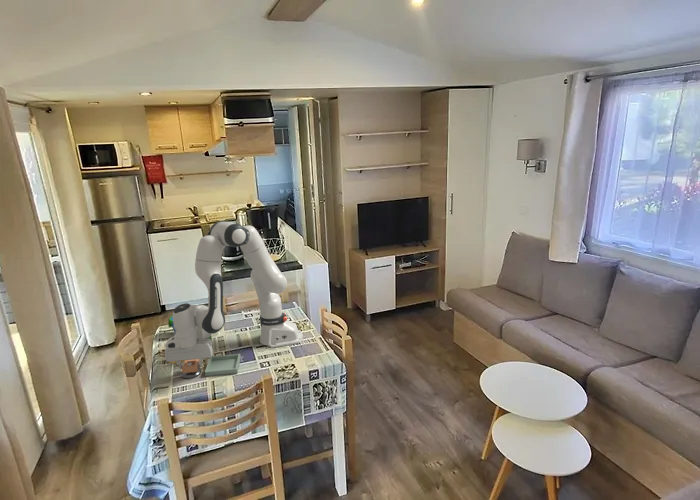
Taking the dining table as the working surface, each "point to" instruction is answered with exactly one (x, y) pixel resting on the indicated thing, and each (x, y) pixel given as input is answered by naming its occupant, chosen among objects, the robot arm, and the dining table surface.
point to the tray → (223, 365)
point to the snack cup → (171, 324)
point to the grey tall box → (203, 334)
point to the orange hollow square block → (190, 366)
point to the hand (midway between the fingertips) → (191, 367)
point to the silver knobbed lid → (190, 373)
